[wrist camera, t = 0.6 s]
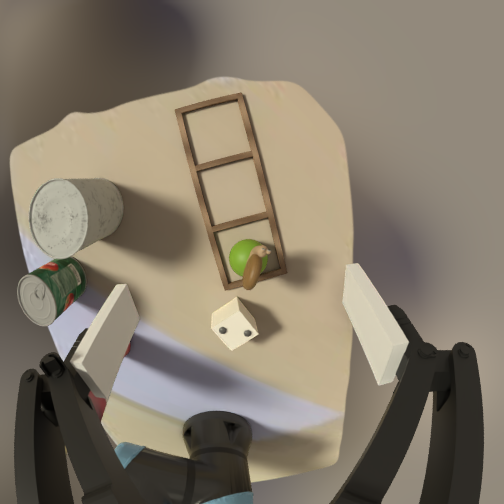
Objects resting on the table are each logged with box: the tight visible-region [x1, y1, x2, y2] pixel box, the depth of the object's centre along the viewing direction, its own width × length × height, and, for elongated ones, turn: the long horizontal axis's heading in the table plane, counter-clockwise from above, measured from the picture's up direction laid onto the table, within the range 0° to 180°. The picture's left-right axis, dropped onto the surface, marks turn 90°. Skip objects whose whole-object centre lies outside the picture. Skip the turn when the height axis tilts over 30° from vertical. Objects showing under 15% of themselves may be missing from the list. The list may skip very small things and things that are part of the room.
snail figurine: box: [229, 239, 271, 290], centre depth 36 cm, size 5×6×12 cm
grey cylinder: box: [29, 178, 124, 259], centre depth 32 cm, size 10×10×12 cm
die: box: [211, 297, 259, 351], centre depth 42 cm, size 5×5×5 cm
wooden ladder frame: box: [175, 93, 287, 290], centre depth 39 cm, size 28×10×1 cm, turn 14°
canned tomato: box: [17, 256, 87, 326], centre depth 34 cm, size 8×8×11 cm
